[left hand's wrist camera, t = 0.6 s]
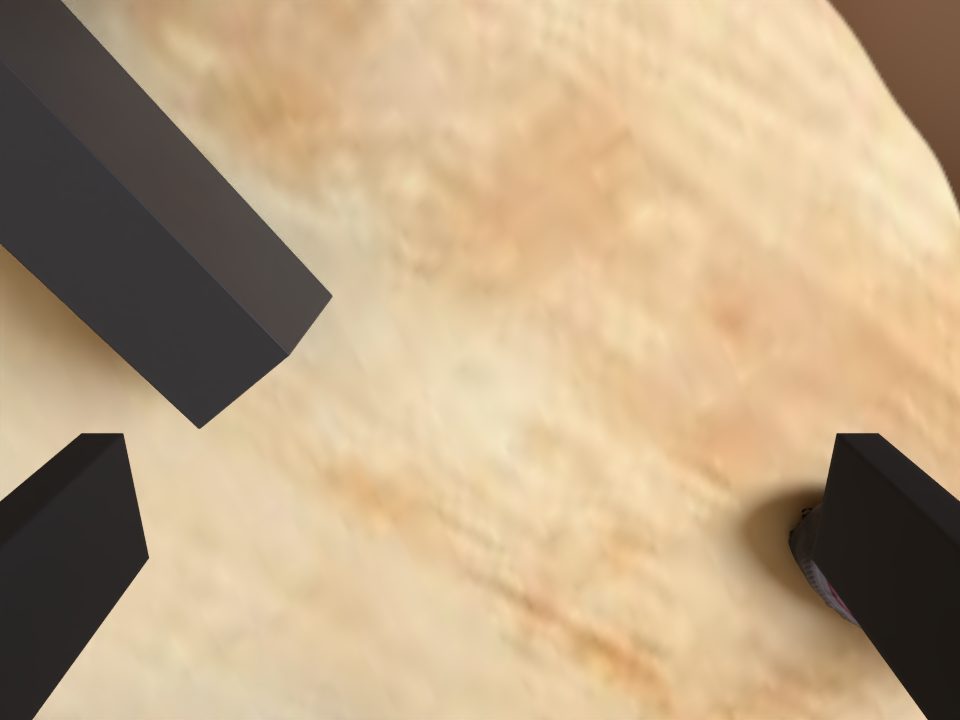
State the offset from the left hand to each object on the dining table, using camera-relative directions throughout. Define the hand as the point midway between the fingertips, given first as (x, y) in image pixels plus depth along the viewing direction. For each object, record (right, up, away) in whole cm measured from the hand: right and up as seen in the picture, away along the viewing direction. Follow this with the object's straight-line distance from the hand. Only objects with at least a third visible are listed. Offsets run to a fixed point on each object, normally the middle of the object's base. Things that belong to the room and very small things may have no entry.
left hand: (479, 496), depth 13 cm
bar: (-18, +13, +24) cm, 33 cm away
